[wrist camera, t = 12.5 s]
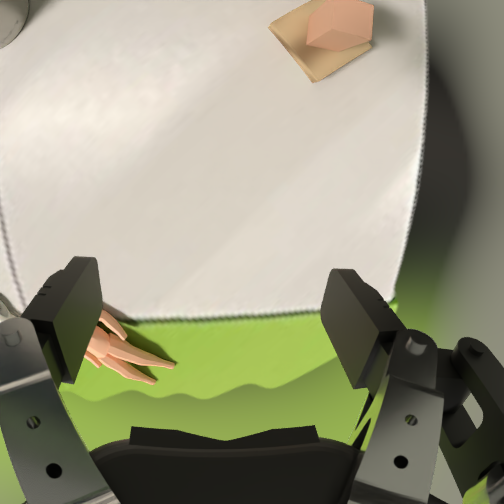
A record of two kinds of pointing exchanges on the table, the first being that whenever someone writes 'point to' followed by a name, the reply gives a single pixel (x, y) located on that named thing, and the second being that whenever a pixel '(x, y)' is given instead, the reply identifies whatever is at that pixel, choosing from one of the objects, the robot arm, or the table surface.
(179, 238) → the table surface
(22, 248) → the table surface
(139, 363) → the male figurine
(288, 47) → the base slab
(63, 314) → the robot arm
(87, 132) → the table surface
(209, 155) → the table surface
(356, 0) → the block
